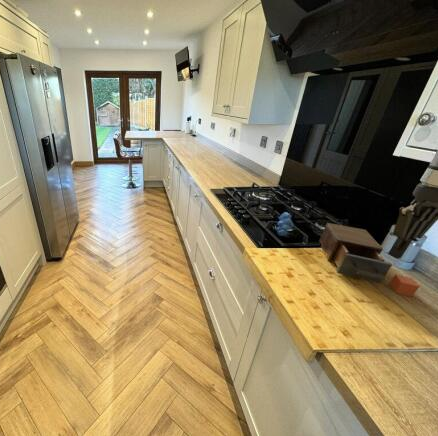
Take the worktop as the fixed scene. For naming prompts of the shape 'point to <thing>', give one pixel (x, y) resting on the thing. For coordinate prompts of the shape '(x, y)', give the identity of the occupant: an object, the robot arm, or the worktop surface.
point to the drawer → (360, 262)
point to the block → (403, 285)
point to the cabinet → (345, 239)
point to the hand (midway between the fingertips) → (394, 255)
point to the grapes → (284, 224)
